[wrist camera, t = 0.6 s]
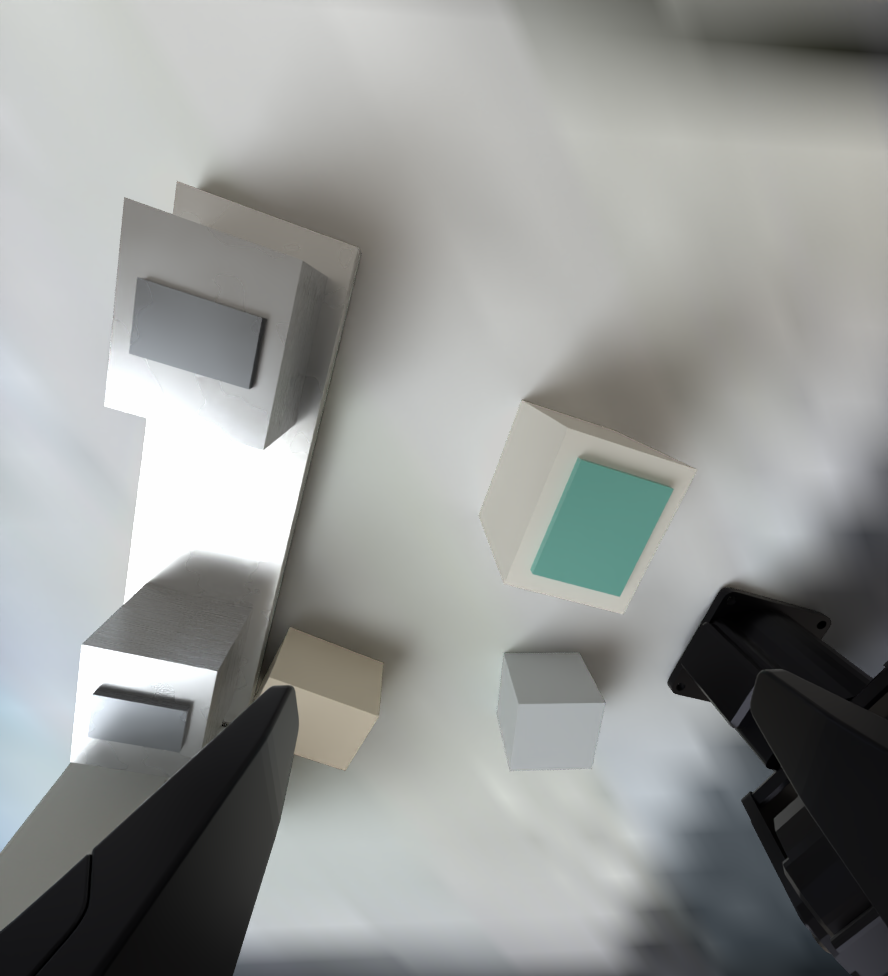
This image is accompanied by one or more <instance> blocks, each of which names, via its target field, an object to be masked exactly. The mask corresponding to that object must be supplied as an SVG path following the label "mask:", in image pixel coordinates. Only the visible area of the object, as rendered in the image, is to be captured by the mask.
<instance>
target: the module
mask: <svg viewBox="0 0 888 976" xmlns="http://www.w3.org/2000/svg"><path fill="white" fill-rule="evenodd" d="M696 472H697V469H695V468H693V467H690V466H688V465H686V464H684V463H682V462H680V461H678V460H676V459H674V458H672V457H670V456H667V455H665V454H663V453H661V452H659V451H657V450H655V449H653V448H651V447H649V446H646V445H644V444H642V443H640V442H638V441H636V440H634V439H632V438H630V437H628V436H626V435H623V434H621V433H619V432H617V431H615V430H612V429H609V428H605V427H602V426H599V425H596V424H593V423H590V422H587V421H584V420H581V419H578V418H575V417H572V416H569V415H566V414H563V413H560V412H557V411H554V410H551V409H548V408H545V407H542V406H539V405H536V404H533V403H529V402H526V401H523V400H521V403H520V405H519V408H518V411H517V414H516V416H515V419H514V422H513V424H512V427H511V430H510V432H509V435H508V438H507V440H506V443H505V446H504V448H503V451H502V454H501V456H500V459H499V462H498V465H497V467H496V470H495V473H494V475H493V478H492V481H491V483H490V486H489V489H488V491H487V494H486V497H485V499H484V502H483V505H482V507H481V510H480V513H479V519H480V521H481V524H482V527H483V529H484V532H485V535H486V537H487V540H488V543H489V545H490V548H491V551H492V553H493V556H494V559H495V561H496V564H497V567H498V569H499V572H500V575H501V577H502V580H503V583H504V584H506V585H510V586H514V587H517V588H521V589H525V590H529V591H533V592H537V593H541V594H545V595H549V596H553V597H557V598H561V599H565V600H569V601H572V602H576V603H580V604H584V605H588V606H592V607H596V608H600V609H604V610H608V611H612V612H616V613H620V614H624V612H625V611H626V609H627V607H628V605H629V603H630V601H631V599H632V597H633V595H634V593H635V591H636V589H637V587H638V585H639V583H640V581H641V579H642V577H643V575H644V573H645V571H646V569H647V568H648V566H649V564H650V562H651V560H652V558H653V556H654V554H655V552H656V550H657V548H658V546H659V544H660V542H661V540H662V538H663V536H664V534H665V532H666V530H667V528H668V527H669V525H670V523H671V521H672V519H673V517H674V515H675V513H676V511H677V509H678V507H679V505H680V503H681V501H682V499H683V497H684V495H685V493H686V491H687V489H688V487H689V486H690V484H691V482H692V480H693V478H694V476H695V474H696Z"/></svg>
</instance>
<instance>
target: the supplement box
mask: <svg viewBox="0 0 888 976" xmlns="http://www.w3.org/2000/svg"><path fill="white" fill-rule="evenodd" d="M224 728H225V727H223V726H221V727H220V729H219V731H218V733H217V735H218V734H219V733H220V732H221V731H222V730H223V729H224ZM217 735H216V736H217ZM169 779H170V778H169V777H162V776H156V775H149V774H143V773H137V772H130V771H124V770H118V769H111V768H105V767H99V766H92V765H86V764H79V763H73V762H71V763H70V764H69V766H68V767H67V768H66V769H65V771H64V772H63V773H62V775H61V776H60V777H59V778H58V780H57V781H56V782H55V784H54V785H53V786H52V787H51V789H50V790H49V791H48V792H47V794H46V795H45V796H44V798H43V799H42V800H41V801H40V803H39V804H38V805H37V806H36V808H35V809H34V810H33V812H32V813H31V814H30V815H29V817H28V818H27V819H26V820H25V822H24V823H23V824H22V826H21V827H20V828H19V829H18V831H17V832H16V833H15V835H14V836H13V837H12V838H11V840H10V841H9V842H8V844H7V845H6V846H5V848H4V849H3V850H2V851H1V853H0V931H1V930H2V929H3V928H4V927H6V926H7V925H8V924H9V923H10V922H12V921H13V920H14V919H15V918H16V917H17V916H19V915H20V914H21V913H22V912H23V911H24V910H25V909H26V908H28V907H29V906H30V905H31V904H32V903H33V902H34V901H35V900H37V899H38V898H39V897H40V896H41V895H42V894H43V893H44V892H46V891H47V890H48V889H49V888H50V887H51V886H52V885H53V884H55V883H56V882H57V881H58V880H59V879H60V878H61V877H62V876H64V875H65V874H66V873H67V872H68V871H69V870H70V869H71V868H72V867H73V866H74V865H76V864H77V863H78V862H79V861H80V860H81V859H82V858H83V857H84V856H85V855H87V854H92V850H93V848H94V847H95V846H97V845H98V844H99V843H100V842H101V841H102V840H103V839H104V838H105V837H106V836H107V835H109V834H110V833H111V832H112V831H113V830H114V829H115V828H116V827H117V826H118V825H119V824H121V823H122V822H123V821H124V820H125V819H126V818H127V817H128V816H129V815H130V814H132V813H133V812H134V811H135V810H136V809H137V808H138V807H139V806H140V805H141V804H142V803H144V802H145V801H146V800H147V799H148V798H149V797H150V796H151V795H152V794H153V793H154V792H156V791H157V790H158V789H159V788H160V787H161V786H162V785H163V784H164V783H165V782H166V781H168V780H169Z"/></svg>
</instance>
